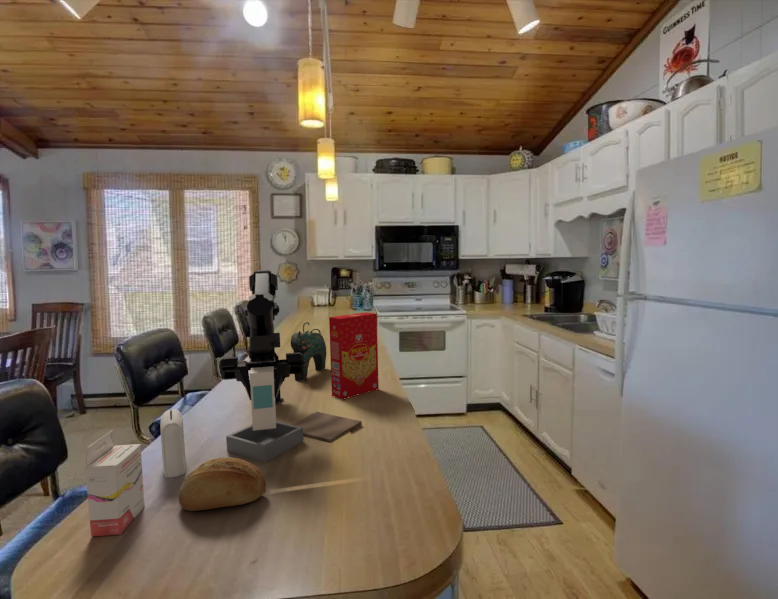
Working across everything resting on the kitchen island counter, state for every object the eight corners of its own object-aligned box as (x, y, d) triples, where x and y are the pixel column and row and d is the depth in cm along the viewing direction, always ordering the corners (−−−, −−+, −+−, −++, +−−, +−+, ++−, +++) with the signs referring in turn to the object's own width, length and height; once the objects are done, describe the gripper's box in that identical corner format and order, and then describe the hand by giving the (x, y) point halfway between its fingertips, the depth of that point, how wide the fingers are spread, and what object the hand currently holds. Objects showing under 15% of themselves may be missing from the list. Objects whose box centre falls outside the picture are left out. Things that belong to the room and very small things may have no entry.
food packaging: (341, 399, 136) (338, 318, 133) (331, 395, 140) (329, 317, 137) (378, 389, 146) (376, 313, 143) (368, 386, 150) (366, 312, 147)
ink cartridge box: (122, 535, 72) (114, 447, 70) (90, 537, 71) (81, 449, 70) (146, 505, 80) (140, 426, 78) (117, 507, 80) (110, 428, 78)
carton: (254, 422, 104) (251, 368, 103) (276, 420, 105) (273, 366, 104) (252, 431, 99) (249, 373, 97) (276, 428, 100) (273, 372, 99)
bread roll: (265, 512, 77) (262, 468, 76) (171, 525, 74) (168, 479, 73) (267, 484, 87) (265, 445, 86) (185, 495, 83) (182, 454, 83)
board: (282, 432, 112) (282, 427, 112) (316, 415, 123) (316, 411, 123) (330, 444, 104) (329, 439, 104) (361, 425, 115) (361, 421, 115)
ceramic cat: (303, 382, 155) (301, 326, 153) (287, 381, 158) (284, 325, 156) (330, 368, 174) (328, 317, 172) (315, 367, 176) (313, 317, 174)
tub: (227, 453, 101) (226, 436, 100) (266, 434, 111) (266, 418, 110) (264, 465, 94) (264, 447, 94) (303, 443, 105) (302, 427, 104)
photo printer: (164, 461, 97) (159, 406, 96) (185, 456, 99) (181, 403, 98) (163, 482, 88) (158, 422, 87) (187, 477, 90) (182, 418, 89)
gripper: (217, 323, 101) (213, 384, 92) (301, 319, 106) (305, 376, 96) (223, 350, 110) (220, 408, 100) (300, 345, 114) (305, 400, 105)
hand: (263, 398), depth 100 cm, fingers closed on carton, 5 cm apart
